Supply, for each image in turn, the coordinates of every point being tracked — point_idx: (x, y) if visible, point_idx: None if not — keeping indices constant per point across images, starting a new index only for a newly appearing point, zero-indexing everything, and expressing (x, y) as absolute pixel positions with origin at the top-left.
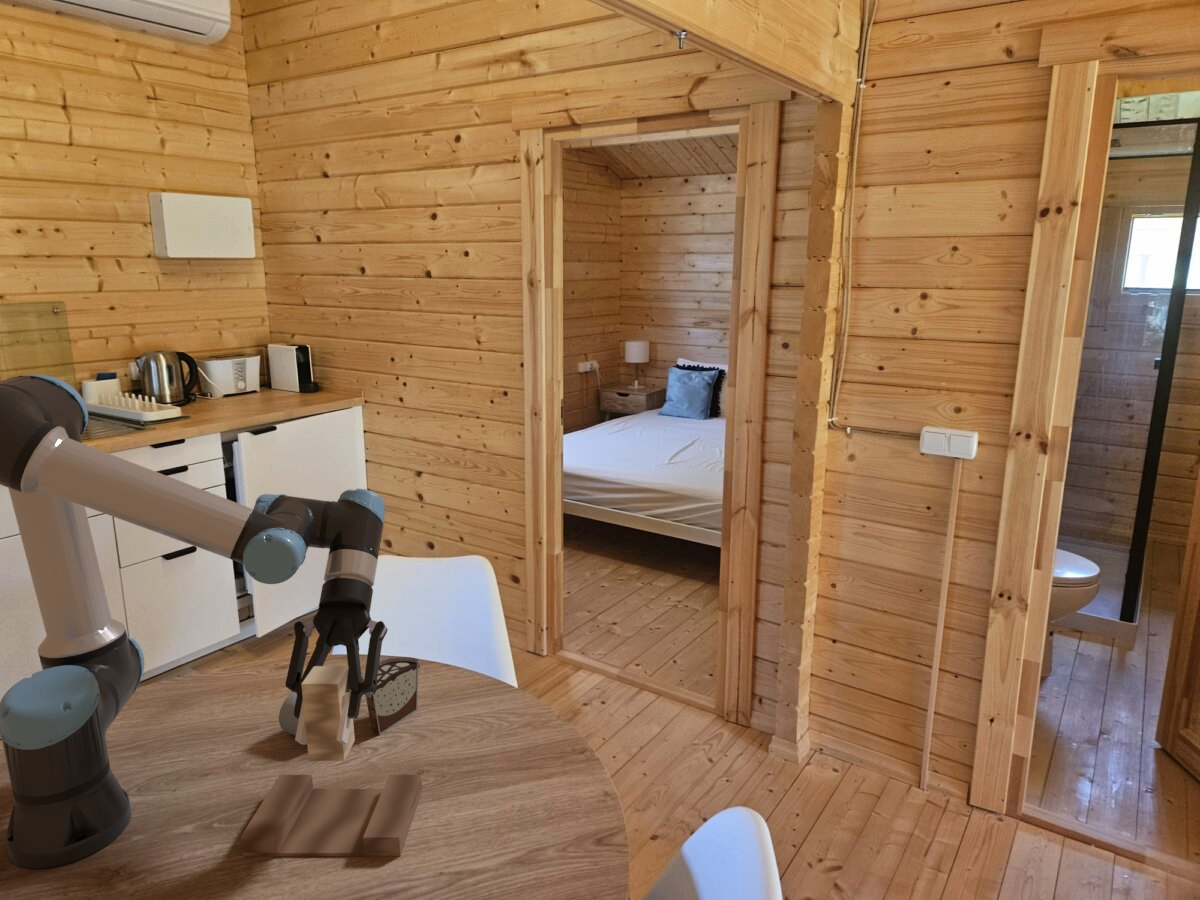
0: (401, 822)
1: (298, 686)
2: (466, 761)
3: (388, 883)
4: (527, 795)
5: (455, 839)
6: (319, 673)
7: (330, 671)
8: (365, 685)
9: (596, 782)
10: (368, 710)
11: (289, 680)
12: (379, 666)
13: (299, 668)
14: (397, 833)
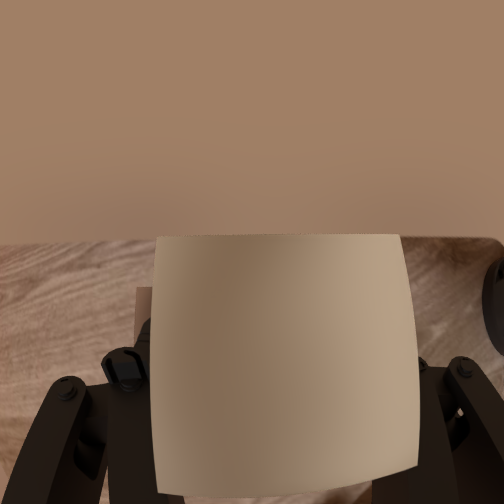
0: (138, 318)
1: (426, 366)
2: (104, 480)
3: (153, 249)
4: (26, 392)
5: (87, 322)
6: (348, 381)
7: (273, 422)
8: (79, 386)
9: None
10: None
11: (474, 376)
12: None
13: (471, 453)
14: (140, 294)
